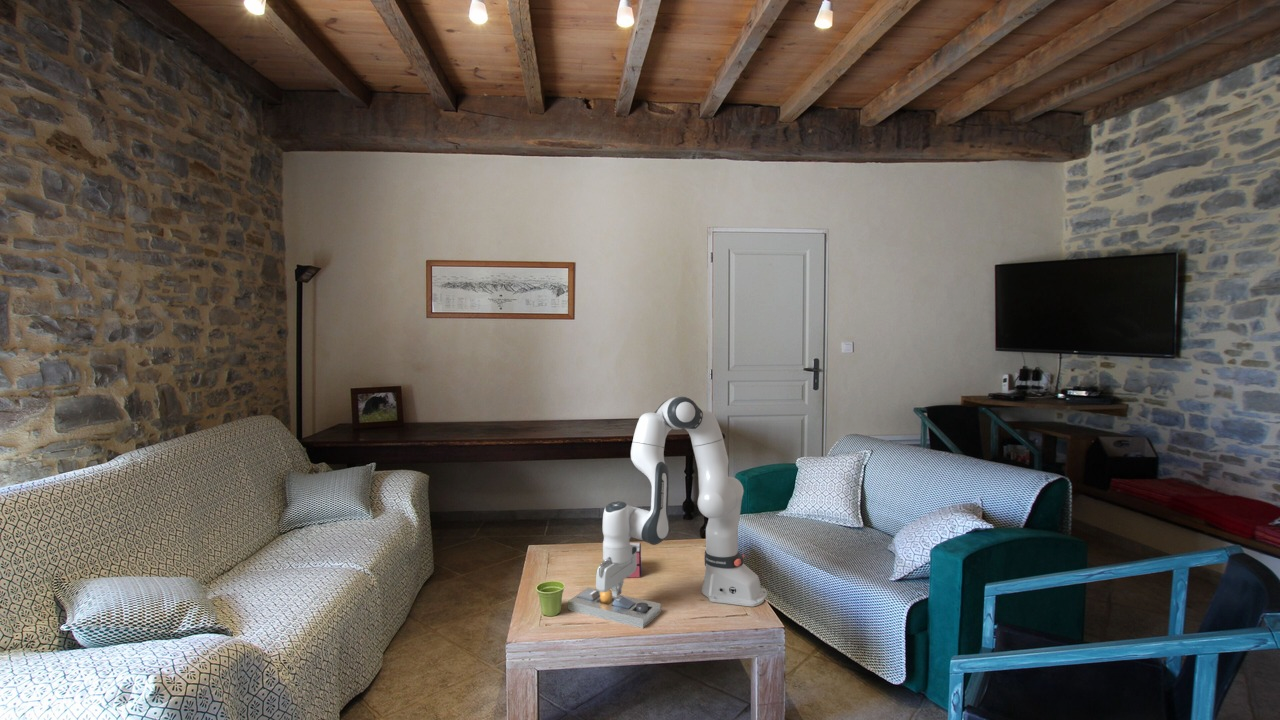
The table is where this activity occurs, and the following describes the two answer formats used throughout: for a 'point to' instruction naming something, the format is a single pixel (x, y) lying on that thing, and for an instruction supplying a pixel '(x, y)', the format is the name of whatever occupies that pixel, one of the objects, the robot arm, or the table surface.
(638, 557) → the puzzle cube
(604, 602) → the button orange
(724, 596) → the robot arm
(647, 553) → the table surface
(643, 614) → the panel
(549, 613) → the plant pot
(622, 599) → the rocker blue
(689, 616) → the table surface
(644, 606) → the button black
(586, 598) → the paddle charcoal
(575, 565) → the table surface
